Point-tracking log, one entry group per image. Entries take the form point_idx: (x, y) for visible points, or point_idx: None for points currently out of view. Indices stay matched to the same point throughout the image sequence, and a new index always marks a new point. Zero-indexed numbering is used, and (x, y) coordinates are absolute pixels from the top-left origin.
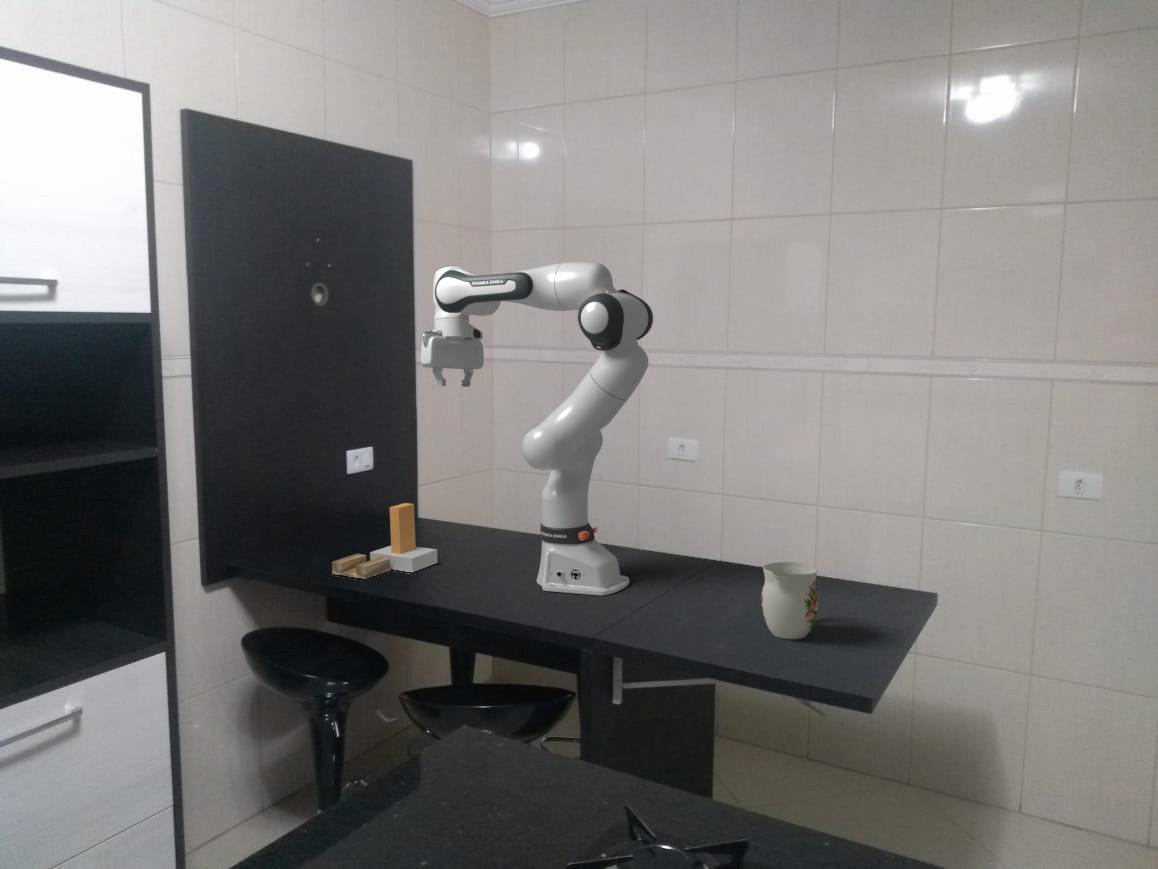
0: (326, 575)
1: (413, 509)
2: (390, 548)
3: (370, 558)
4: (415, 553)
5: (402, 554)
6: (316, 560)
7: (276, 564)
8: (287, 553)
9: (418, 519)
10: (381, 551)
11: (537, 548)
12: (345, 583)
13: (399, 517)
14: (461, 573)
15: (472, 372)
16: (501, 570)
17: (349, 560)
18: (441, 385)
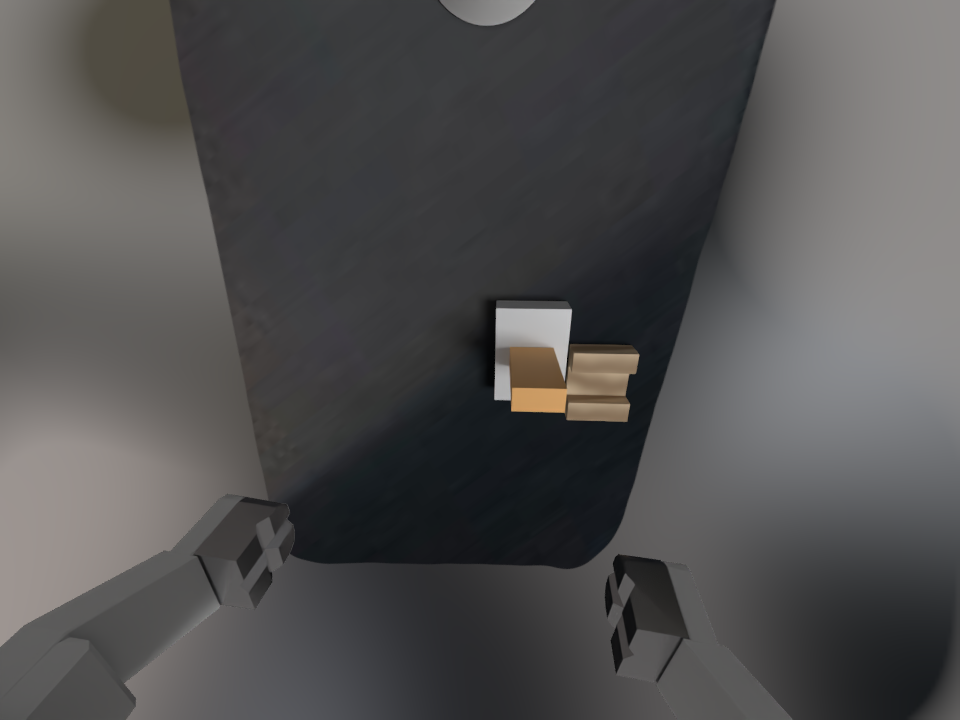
0: None
1: (514, 382)
2: None
3: None
4: (538, 326)
5: (553, 343)
6: (556, 480)
7: (595, 510)
8: (540, 534)
9: None
10: None
11: (299, 188)
12: (653, 363)
13: (562, 378)
14: (529, 220)
15: (32, 639)
16: (477, 155)
17: (609, 403)
18: (682, 565)
